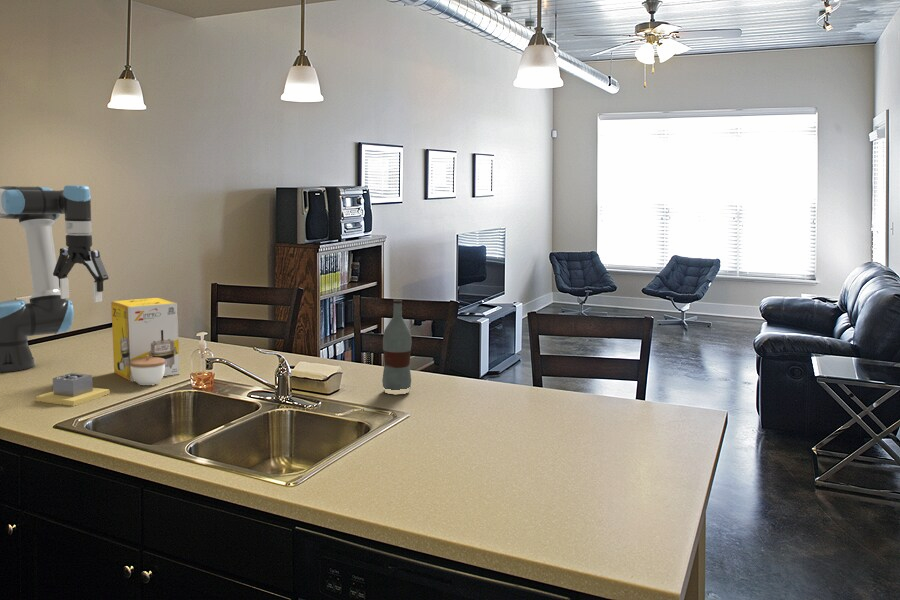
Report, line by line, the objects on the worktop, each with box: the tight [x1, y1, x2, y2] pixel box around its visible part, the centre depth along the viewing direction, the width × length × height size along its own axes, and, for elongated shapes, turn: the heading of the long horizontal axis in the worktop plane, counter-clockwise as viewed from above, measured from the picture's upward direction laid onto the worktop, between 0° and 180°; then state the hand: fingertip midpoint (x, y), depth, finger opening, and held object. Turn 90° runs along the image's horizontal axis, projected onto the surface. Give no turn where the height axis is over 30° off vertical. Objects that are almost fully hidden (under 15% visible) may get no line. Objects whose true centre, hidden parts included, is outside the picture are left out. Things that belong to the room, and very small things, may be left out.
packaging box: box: [110, 297, 180, 382], centre depth 254 cm, size 16×16×25 cm
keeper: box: [35, 376, 111, 407], centre depth 224 cm, size 14×14×6 cm
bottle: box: [381, 299, 412, 390], centre depth 236 cm, size 9×9×30 cm
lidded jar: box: [130, 355, 165, 386], centre depth 242 cm, size 11×11×9 cm
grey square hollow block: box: [52, 372, 94, 397], centre depth 224 cm, size 8×8×5 cm
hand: (81, 300), depth 239 cm, fingers open, 13 cm apart
